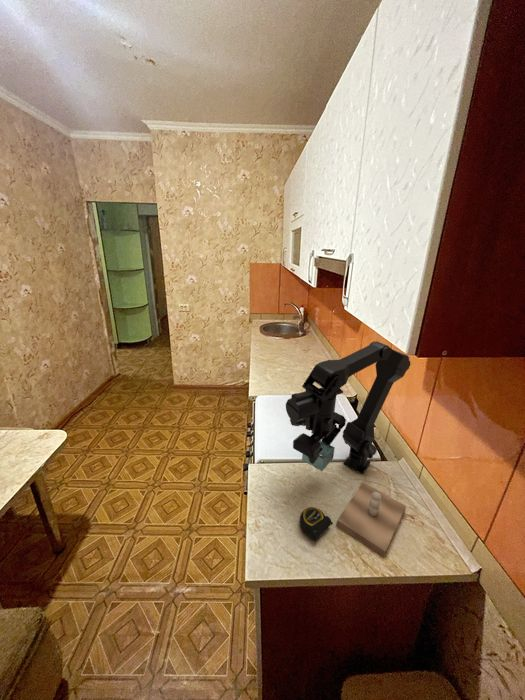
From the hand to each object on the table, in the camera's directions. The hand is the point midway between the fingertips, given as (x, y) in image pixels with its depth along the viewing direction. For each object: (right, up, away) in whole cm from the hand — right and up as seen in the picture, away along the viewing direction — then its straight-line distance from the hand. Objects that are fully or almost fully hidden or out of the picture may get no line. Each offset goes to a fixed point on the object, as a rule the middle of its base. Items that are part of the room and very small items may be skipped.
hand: (317, 456), depth 83 cm
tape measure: (-2, -15, -9) cm, 18 cm away
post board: (+13, -14, -6) cm, 20 cm away
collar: (0, -1, 0) cm, 1 cm away
